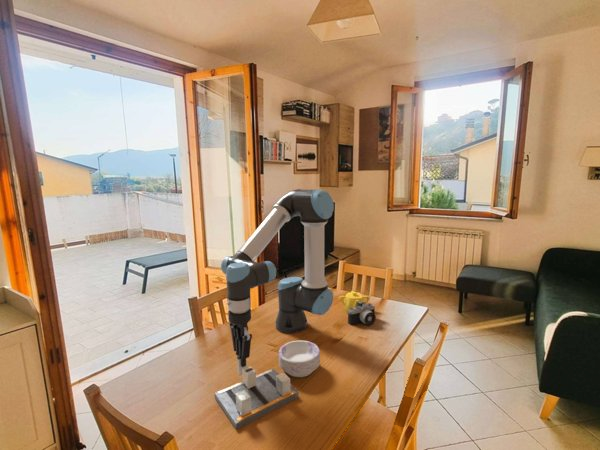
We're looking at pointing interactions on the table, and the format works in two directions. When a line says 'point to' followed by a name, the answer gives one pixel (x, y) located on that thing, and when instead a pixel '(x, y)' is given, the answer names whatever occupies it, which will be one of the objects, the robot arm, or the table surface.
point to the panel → (256, 397)
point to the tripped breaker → (249, 377)
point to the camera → (362, 314)
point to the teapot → (352, 300)
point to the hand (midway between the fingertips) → (242, 373)
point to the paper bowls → (299, 358)
